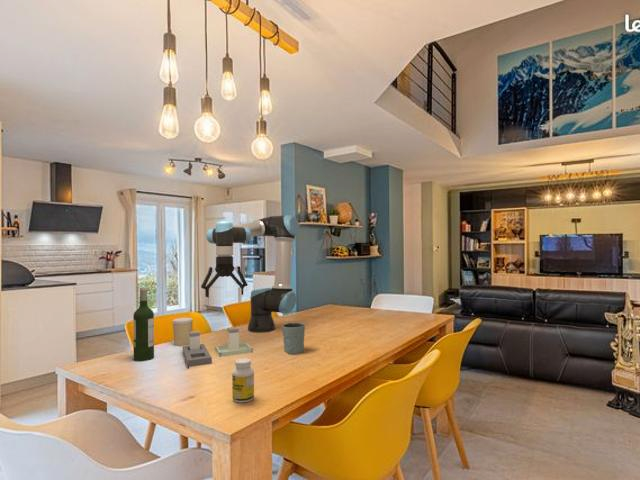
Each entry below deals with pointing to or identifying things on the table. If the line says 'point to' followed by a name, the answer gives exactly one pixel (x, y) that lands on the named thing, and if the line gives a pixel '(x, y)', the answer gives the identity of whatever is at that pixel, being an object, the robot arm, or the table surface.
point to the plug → (233, 339)
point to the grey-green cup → (293, 338)
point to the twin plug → (194, 340)
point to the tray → (243, 349)
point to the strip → (196, 356)
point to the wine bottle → (143, 329)
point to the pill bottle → (243, 381)
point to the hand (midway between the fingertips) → (224, 303)
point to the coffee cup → (182, 331)
